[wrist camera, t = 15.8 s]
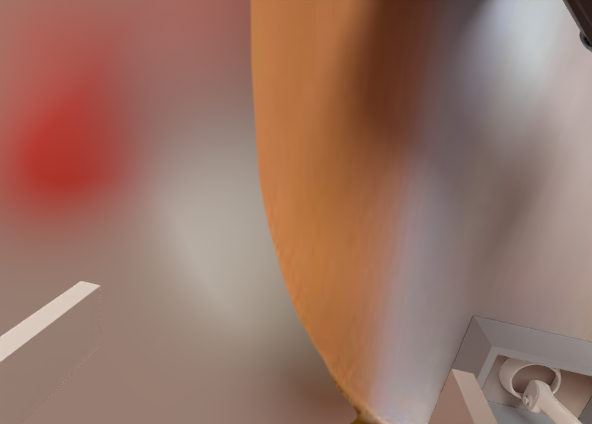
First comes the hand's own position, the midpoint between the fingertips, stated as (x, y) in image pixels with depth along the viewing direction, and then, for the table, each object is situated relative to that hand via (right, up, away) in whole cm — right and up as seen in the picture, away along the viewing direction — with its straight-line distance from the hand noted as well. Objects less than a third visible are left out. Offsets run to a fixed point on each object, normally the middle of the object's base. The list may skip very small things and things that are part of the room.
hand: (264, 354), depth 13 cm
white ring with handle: (+33, -17, +35) cm, 51 cm away
